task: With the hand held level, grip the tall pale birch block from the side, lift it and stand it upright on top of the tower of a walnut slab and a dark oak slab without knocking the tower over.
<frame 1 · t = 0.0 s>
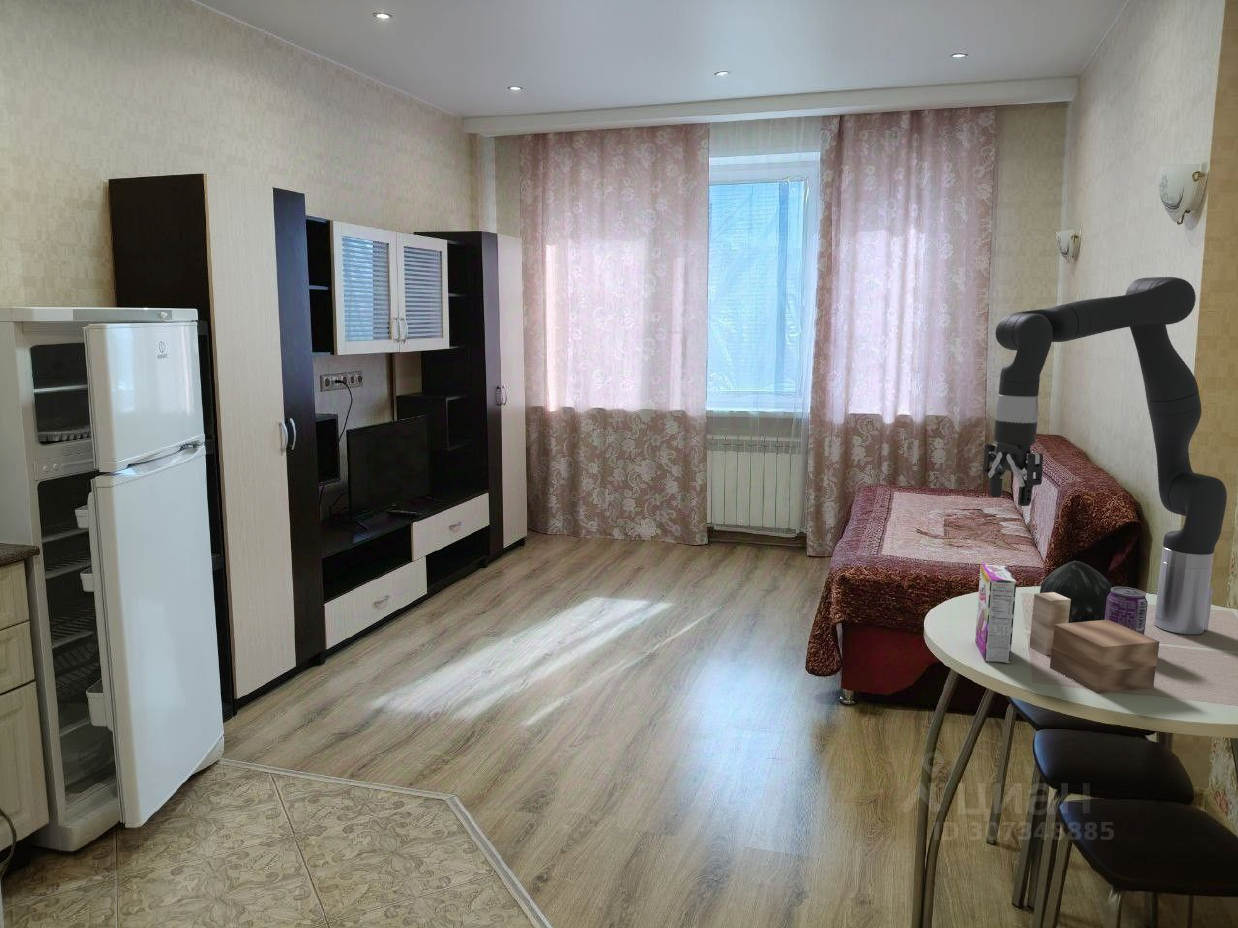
hand: (1009, 501, 182), 29 cm above the table, tool pointing down, fingers open, 8 cm apart
lower slab: (1100, 679, 171), on the table, touching upper slab
upper slab: (1103, 656, 170), point 4 cm above the table, touching lower slab
birch block: (1047, 649, 184), on the table
beverage can: (1121, 650, 185), on the table
squash: (1075, 624, 200), on the table
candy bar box: (991, 653, 182), on the table
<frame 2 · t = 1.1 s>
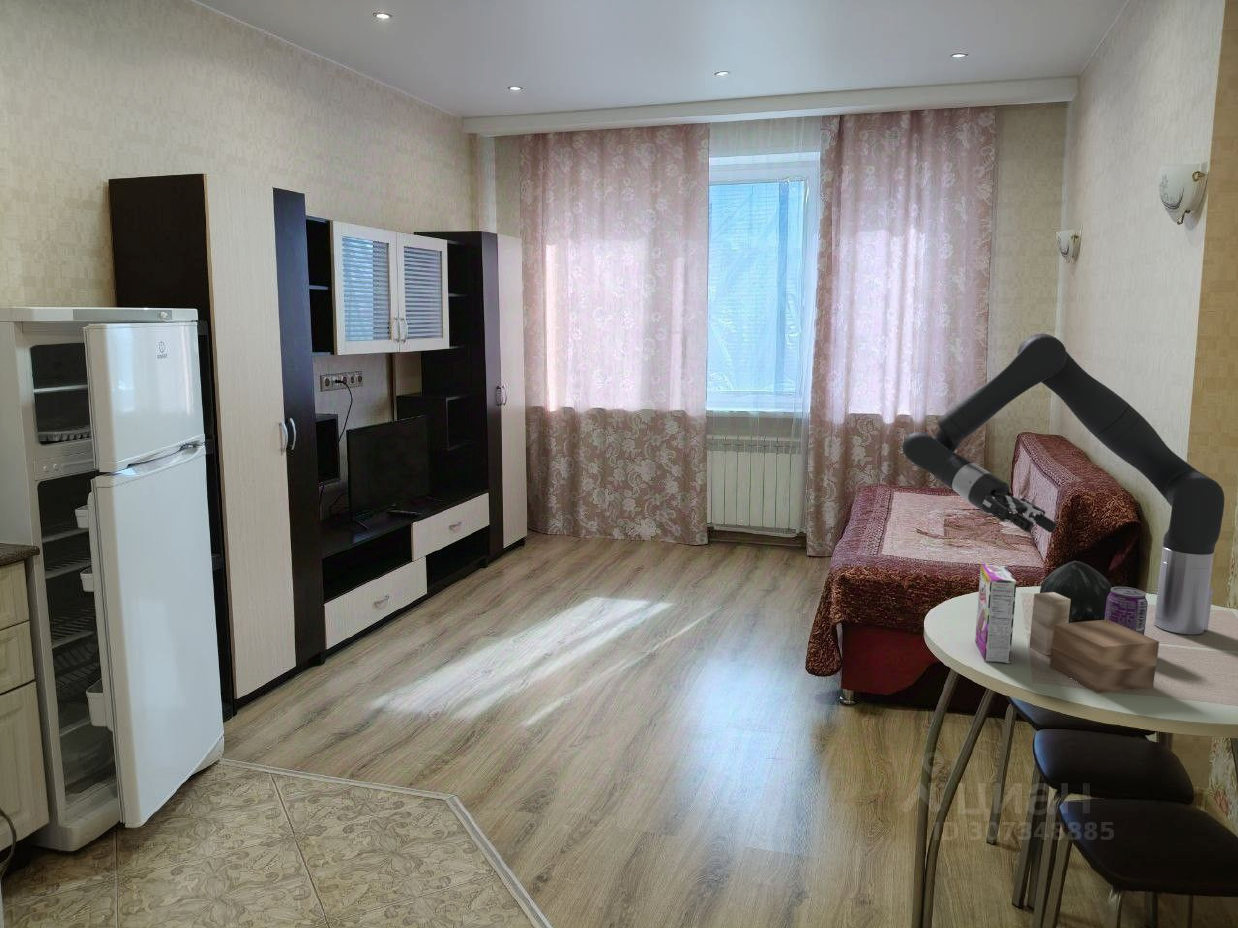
hand: (1042, 528, 186), 23 cm above the table, tool tilted 70°, fingers open, 8 cm apart
lower slab: (1099, 679, 171), on the table
upper slab: (1102, 656, 170), point 4 cm above the table
everything else where it was.
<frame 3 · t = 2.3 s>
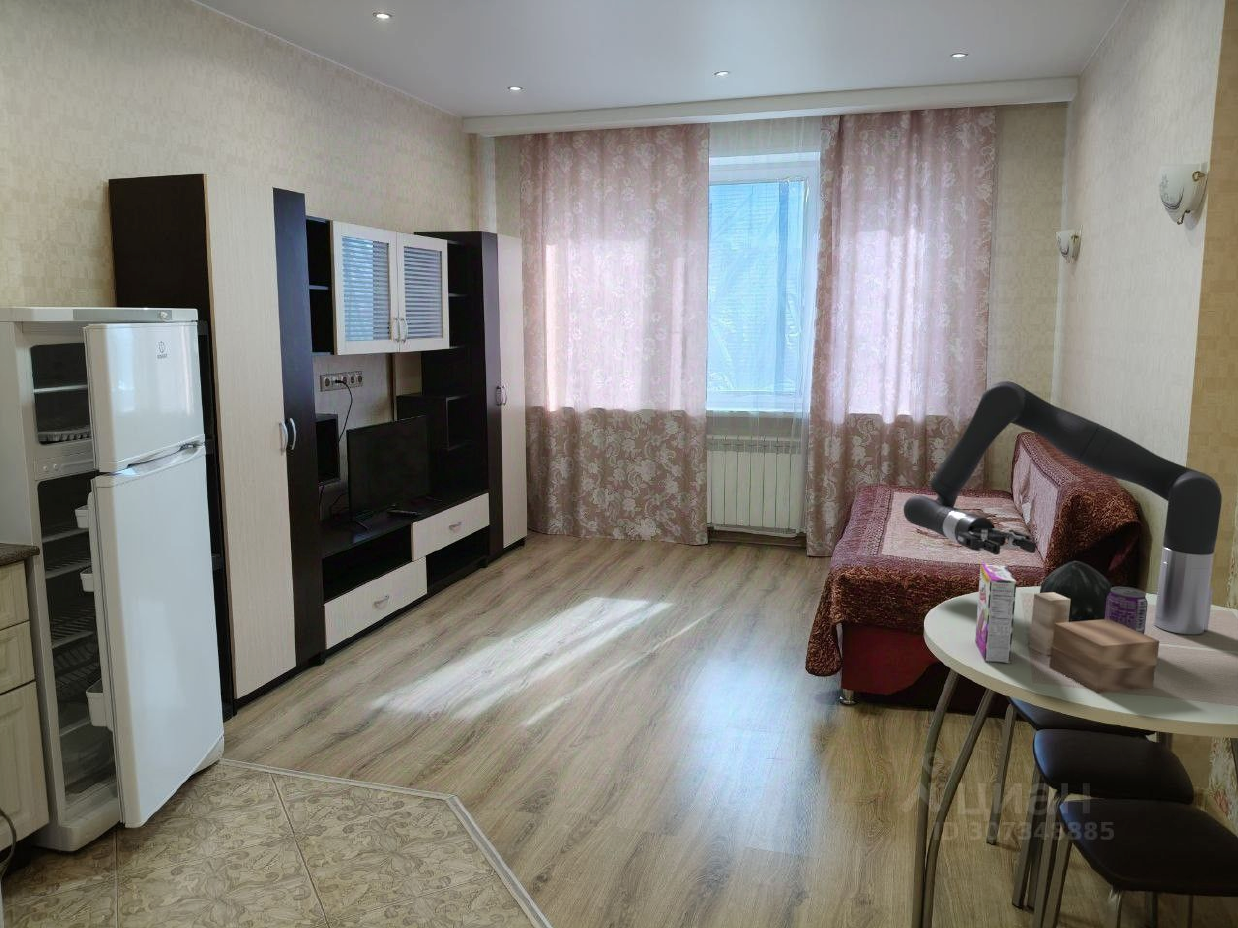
hand: (1016, 549, 192), 18 cm above the table, tool horizontal, fingers open, 8 cm apart
lower slab: (1099, 678, 171), on the table, touching upper slab
upper slab: (1103, 655, 170), point 4 cm above the table, touching lower slab
everything else where it was.
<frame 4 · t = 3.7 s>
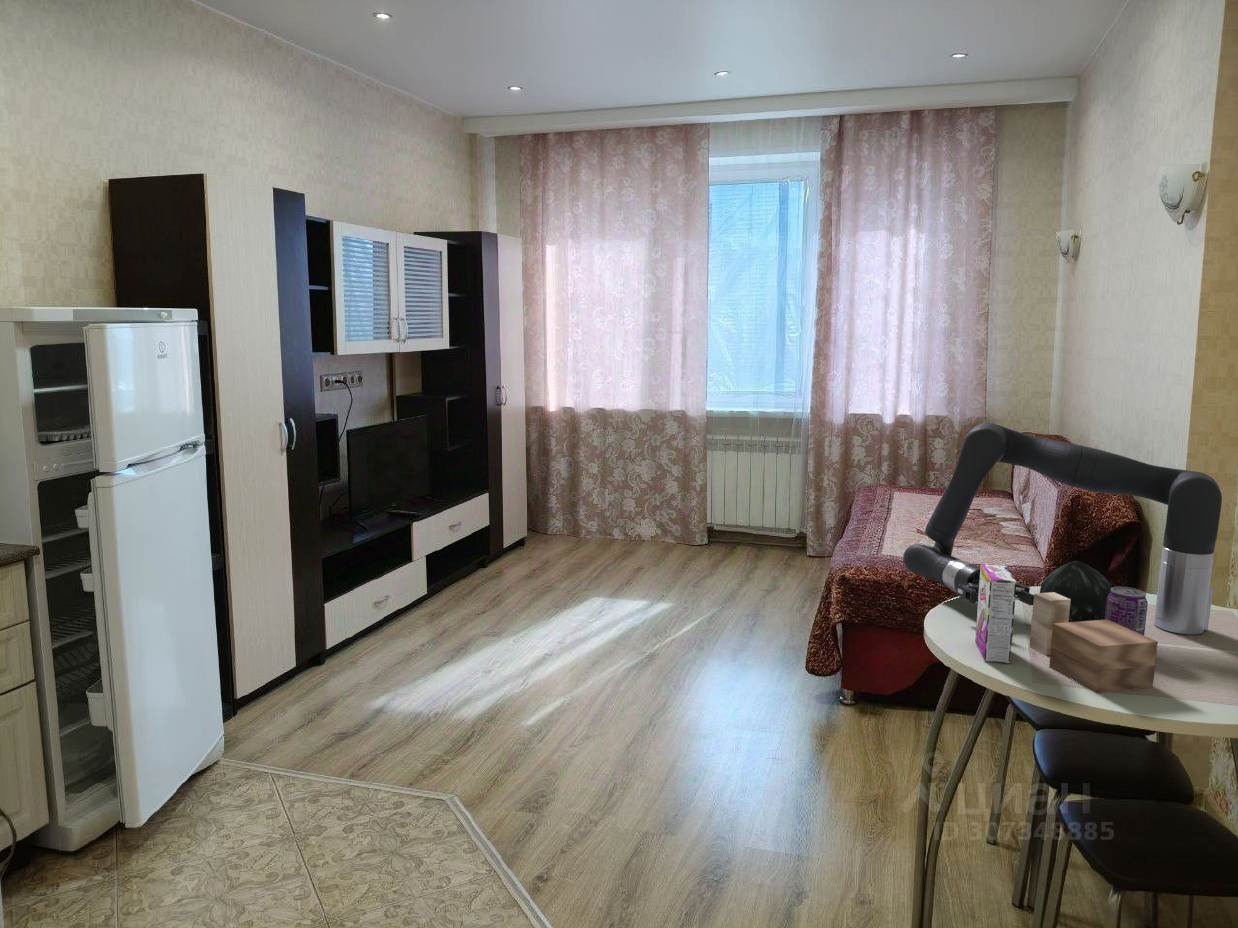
hand: (1015, 602, 193), 6 cm above the table, tool horizontal, fingers open, 8 cm apart
nothing on the table moved.
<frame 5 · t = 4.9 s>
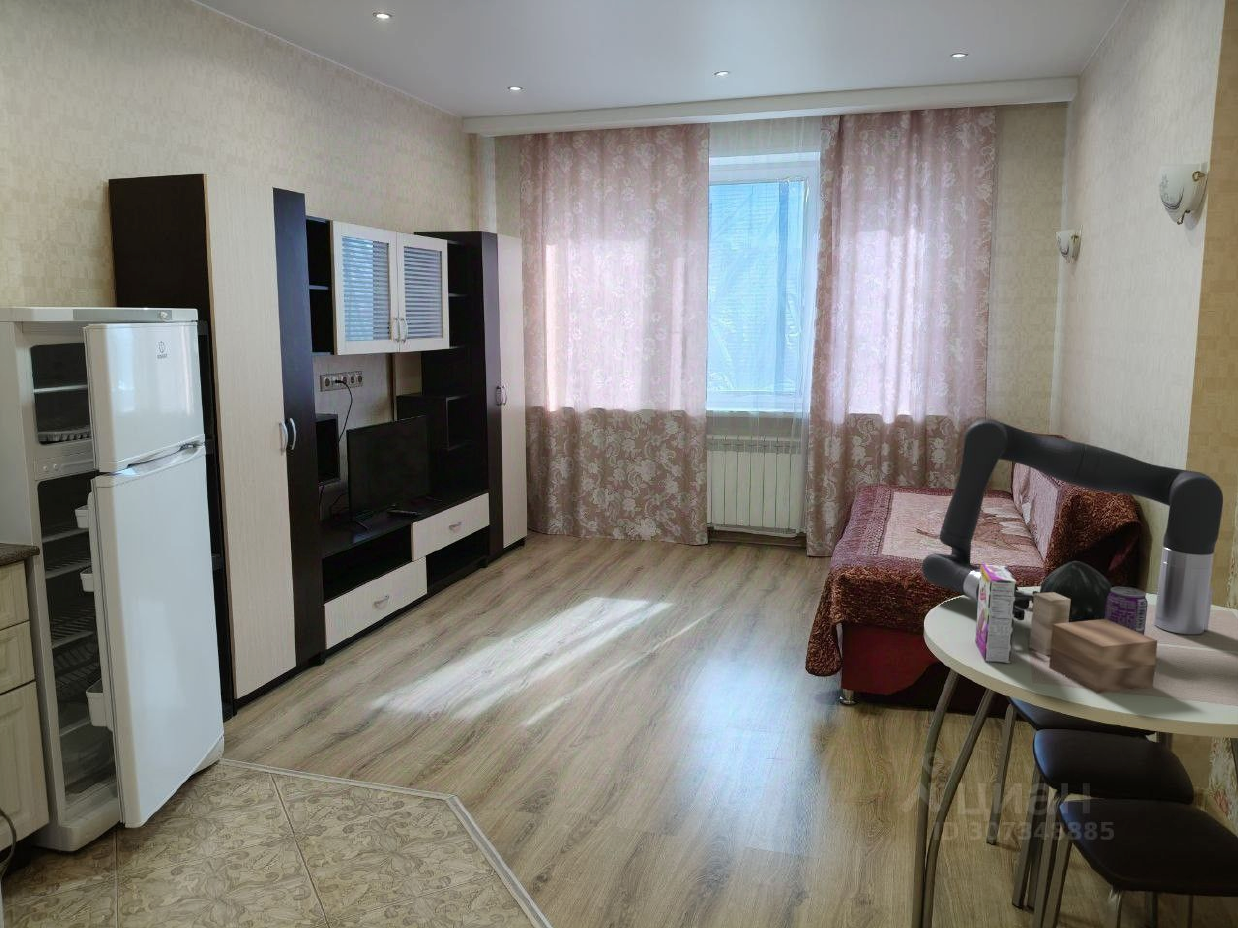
hand: (1041, 614, 185), 6 cm above the table, tool horizontal, fingers open, 8 cm apart
lower slab: (1099, 678, 171), on the table
upper slab: (1101, 655, 170), point 4 cm above the table
everything else where it was.
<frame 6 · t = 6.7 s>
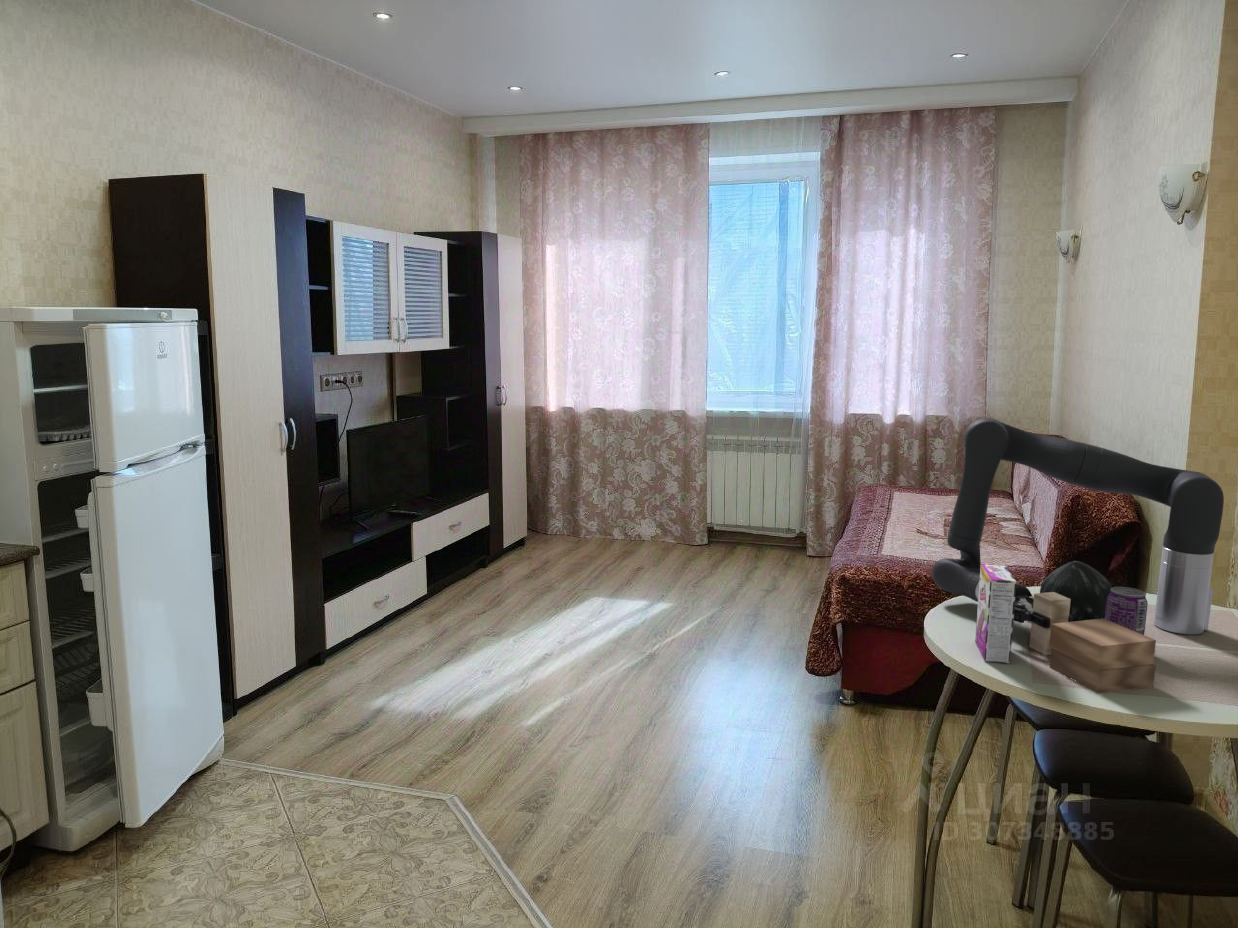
hand: (1059, 622, 181), 7 cm above the table, tool horizontal, fingers closed on birch block, 4 cm apart
lower slab: (1100, 679, 171), on the table, touching upper slab
upper slab: (1099, 655, 171), point 4 cm above the table, touching lower slab
birch block: (1047, 649, 184), on the table, touching gripper
everything else where it was.
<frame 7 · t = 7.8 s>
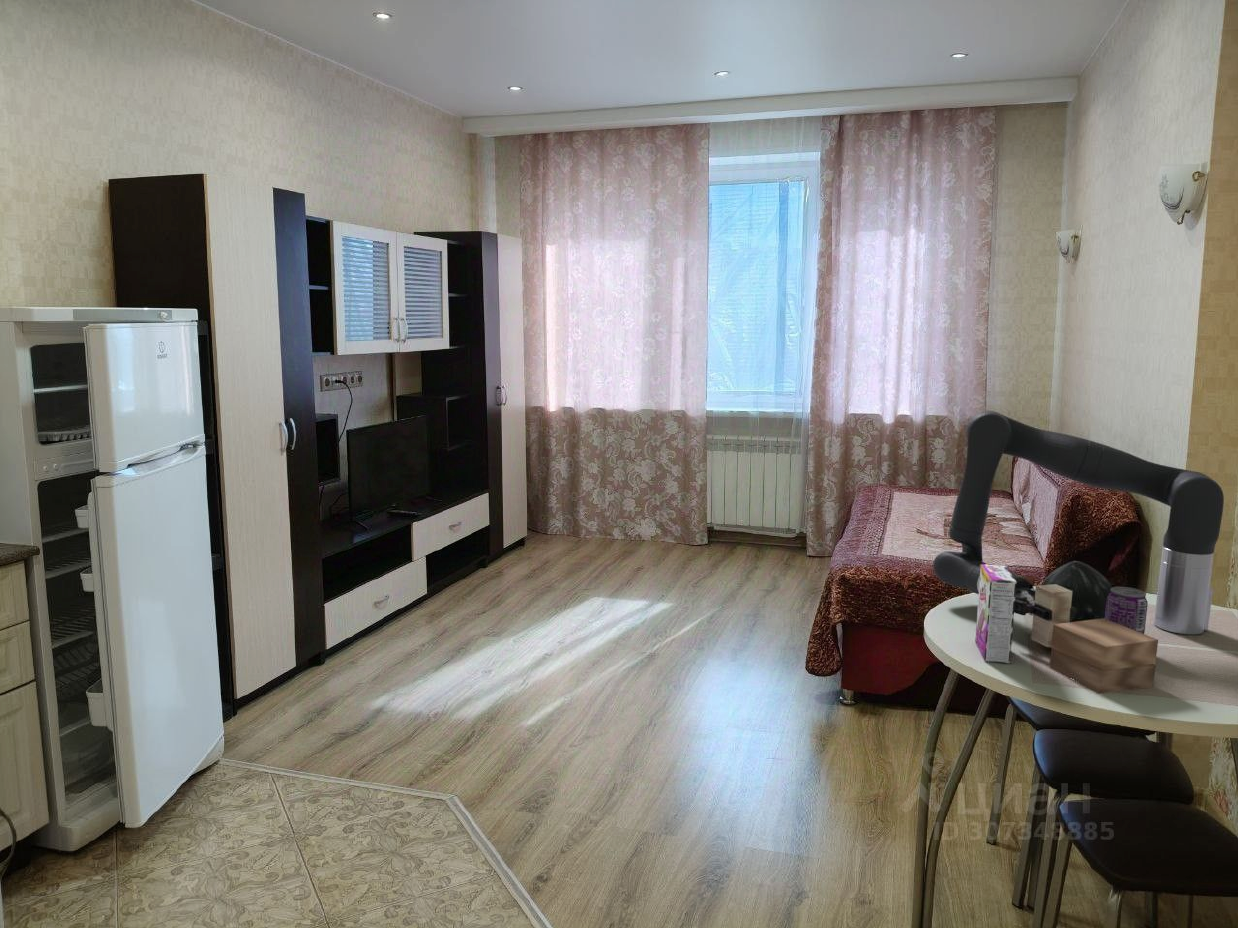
hand: (1061, 614, 180), 8 cm above the table, tool horizontal, fingers closed on birch block, 4 cm apart
birch block: (1049, 641, 184), point 2 cm above the table, touching gripper
everything else where it was.
when the fingers open (17 cm above the table, at t = 14.6 s): birch block drops 2 cm, resting on upper slab.
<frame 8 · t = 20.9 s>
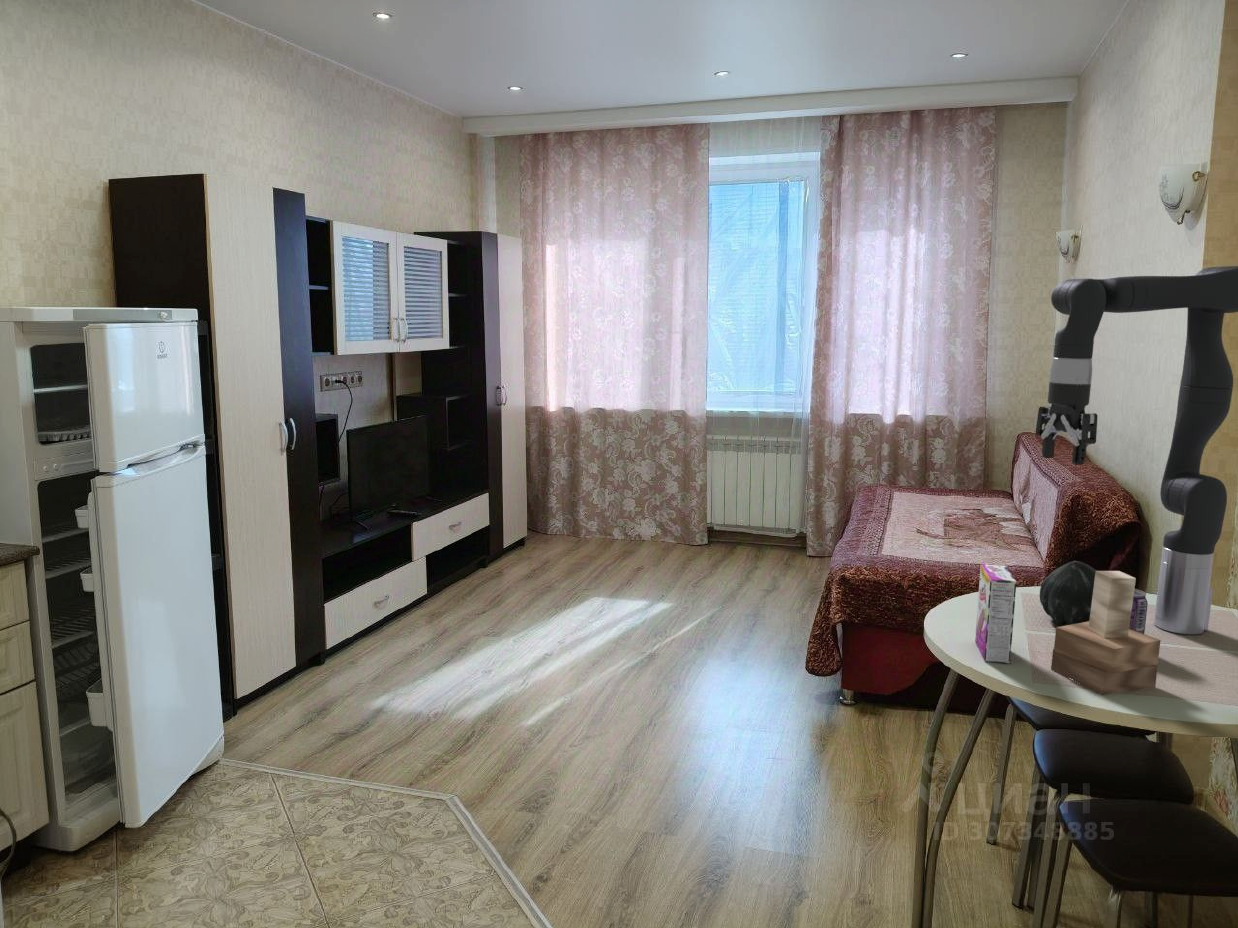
hand: (1062, 461, 188), 36 cm above the table, tool pointing down, fingers open, 8 cm apart
upper slab: (1104, 657, 170), point 4 cm above the table, touching birch block, lower slab
birch block: (1107, 633, 169), point 9 cm above the table, touching upper slab
everything else where it was.
at the end: birch block 0.1 cm off-centre on the upper slab, point 4.5 cm above the upper slab's base; birch block tilted 0°; upper slab moved 0.7 cm from its start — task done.
